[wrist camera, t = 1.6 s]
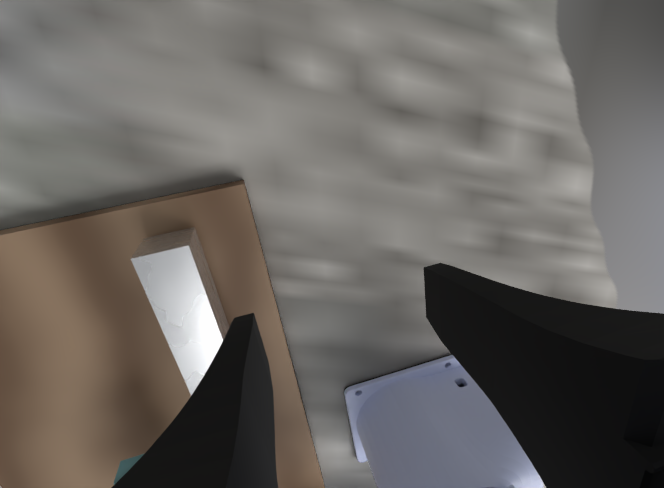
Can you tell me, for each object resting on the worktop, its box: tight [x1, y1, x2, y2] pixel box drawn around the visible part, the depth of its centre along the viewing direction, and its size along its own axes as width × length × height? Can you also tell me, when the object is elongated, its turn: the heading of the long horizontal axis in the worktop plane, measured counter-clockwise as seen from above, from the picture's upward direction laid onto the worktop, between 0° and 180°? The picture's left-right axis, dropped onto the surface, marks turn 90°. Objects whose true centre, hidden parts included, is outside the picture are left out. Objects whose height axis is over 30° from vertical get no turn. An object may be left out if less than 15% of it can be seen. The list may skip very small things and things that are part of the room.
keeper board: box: [0, 180, 325, 488], centre depth 20 cm, size 18×25×5 cm
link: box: [131, 227, 229, 395], centre depth 18 cm, size 15×4×5 cm, turn 9°
